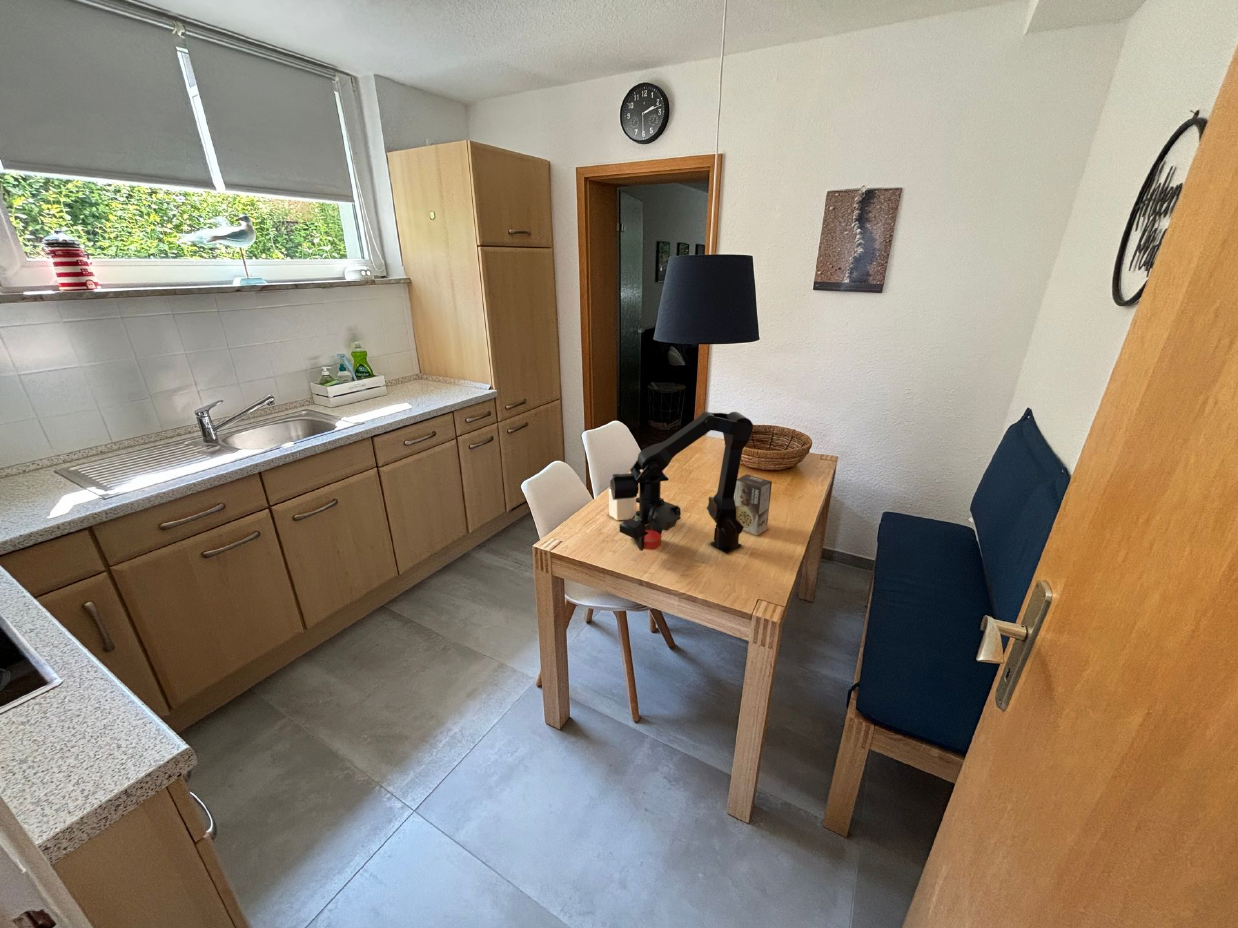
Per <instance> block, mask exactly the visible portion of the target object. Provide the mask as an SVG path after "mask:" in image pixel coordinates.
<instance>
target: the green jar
mask: <svg viewBox="0 0 1238 928" xmlns="http://www.w3.org/2000/svg"><path fill="white" fill-rule="evenodd" d="M633 520H636V521H638V520H640V517H639V516H636V513H635V516H634V517H633ZM645 530H653V528H652V523H650V524H648V525H646V526H645ZM633 542H634V544H636V542H635V541H634V540H633Z"/></svg>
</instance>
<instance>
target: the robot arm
mask: <svg viewBox="0 0 1238 928" xmlns="http://www.w3.org/2000/svg"><path fill="white" fill-rule="evenodd" d="M711 431H713V432H718V433H722V435H723V440H724V451H723V457H722V462H721V469H720V474H719V479H718V480H719V481H718V486H717V491H716V493H715V495H714V496H708V504H707V507H706V510H707V511H708V515H709V517H710V518H711V519H712V520H713V521H714V523H715V528H714V531H713V532H714V533H713V541H712V542H710V545H711V546H712V547H714V548H716V549H718V550H719V551H721V552H723V553H725V554H729V553H732V552H734V551H736V550H739V549H740V548H742V544H741V543H740V542H739V540H740V534H742V532H743V531H744V530H743V528H744V527H743V526H742V525H741V523H740V522H739V521H738V520H737V519H736V505H735V500H734V496H735V489H736V483H737V479H738V478H739V473H740V472H739V471H740V466H741V461H742V455H743V451H744V448H745V447H746V445H747V444H748V443H749V442H750V439H751V436H752V434H753V431H754V423H753V422H752V421H751V420H750V418H748V417H746V416H745V415H743V414H742V413H740V412H738V411H730V412H729V413H726V412H725V413H724V412H710V411H704V412H702V413H701V414H699V416H698V417H696V418H695V419H694V420H692V421H691V422H689V423H688V424H687V425H685V426H684V427H682V428H681V429H680V430H678V431H677V432H675V433H674V434H672V435H671V436H670V437H668V438H667V439H665V440H664V441H662V442H659V443H654V444H652V445H650V446H647V447H645V448H643V449H642V450H641V451H640V452H639V453H637V454H638V456H637V459H636V460H635V462H634V464H633V465H632V466H631V468H630V469H629V472H630V473H629V472H628V473H613V474H612V478H611V480H612V483H611V493H612V498H613V500H618V499H628V498H635V497H636V504H638V510H636V516H639V517H640V520H638V521H636V520H634V518H632V519H631V518H630V519H628V520H623V521H622V522H620V524H619V533H621V534H623V535H625V536H628V537H630V538H632V539H633V542H634V541H635V542H636V543H635V544H636V547H637V548H638V550H639V551H640V552H643V551H644V549H643V548H644V539H645V535H647V534H648V532H646V531H645V526H646V525H648V524H650V523H652V528H653V531H656V532H658V533H660V534H661V535H662V534H663V531H665V532H667V531H670V530H671V529H672V528H674V527H676V525H677V522H678V521H679V520H681V518H682V517H681V514H682V512H681V507H680V506H679V505H676V504H673V503H670V502H667V501H665V499H664V498H662V497H661V489H662V483H661V482H669V477H668V476H667V474H666V473H665V472H664V470H665V469H666V468H667V467H669V465H670V463H671V462H672V460H673V459H674V457H675V456H677V455H679V453H681V452H682V451H684V450H686V448H687V449H688V447H689V446H691V445H693V444H694V443H695V442H696V441H698V440H699V439H701V438H702V437H703V436H705V435H706V434H708V433H710V432H711ZM641 470H642V471H641Z"/></svg>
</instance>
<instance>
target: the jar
mask: <svg viewBox="0 0 1238 928" xmlns="http://www.w3.org/2000/svg"><path fill="white" fill-rule="evenodd" d="M611 483H612V479H611V480H610V481H609V489H608V509H609V510H608V515H609V517H611V518H613V519H614V520H616V521H626V520H628V519H630V518H631V519H634V518H635V513H636V512H637V502H636V498H637V497H635V498H628V499H618V500H613V498H612V493H611Z"/></svg>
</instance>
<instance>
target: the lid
mask: <svg viewBox="0 0 1238 928" xmlns="http://www.w3.org/2000/svg"><path fill="white" fill-rule="evenodd" d="M645 531H646V532H648V534H647V535H645V539H644V548H643V550H647V551H651V550H652V551H653V550H657V549H658V548H660V547H661V546H662V534H660V533H658V532H656V531H653V530H645Z"/></svg>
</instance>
